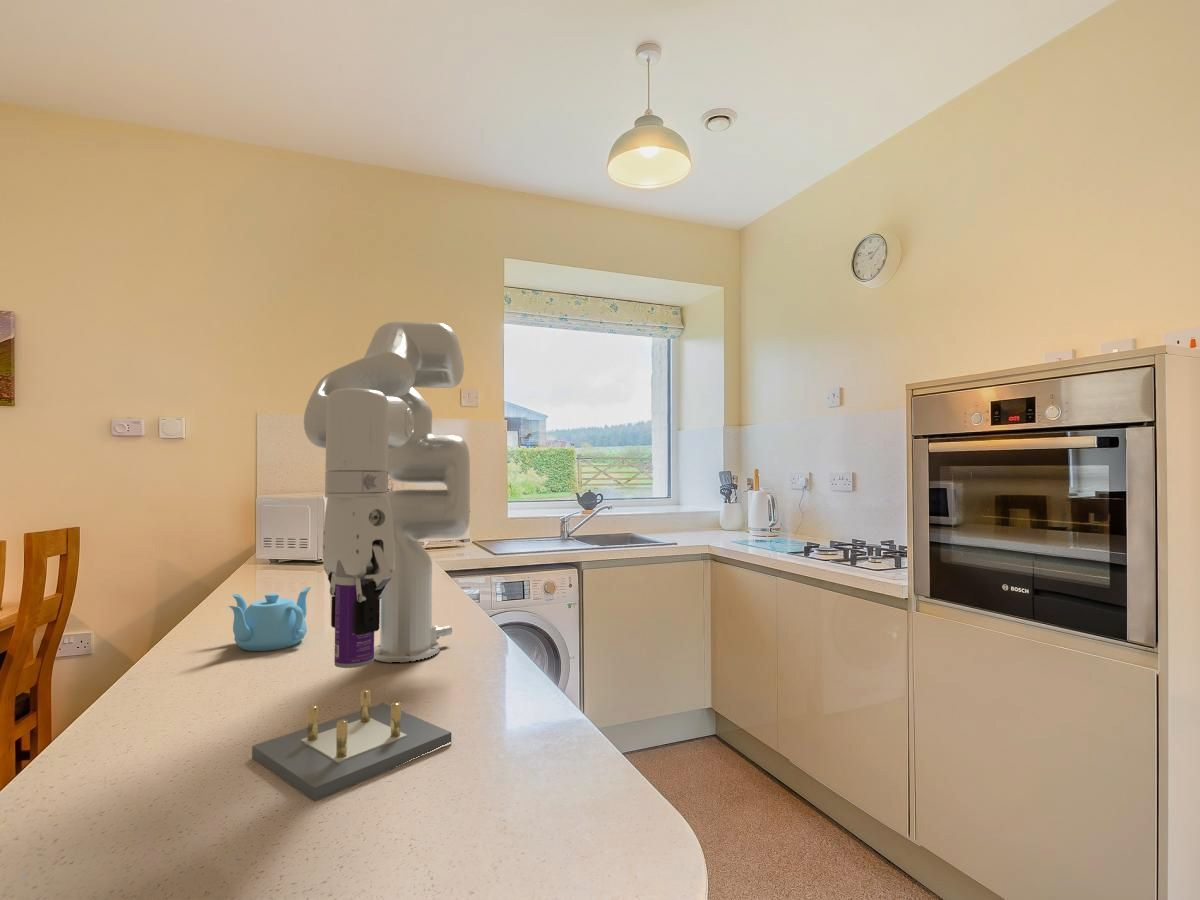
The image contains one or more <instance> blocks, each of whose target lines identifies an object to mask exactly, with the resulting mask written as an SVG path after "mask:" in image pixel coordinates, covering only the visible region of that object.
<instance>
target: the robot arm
mask: <svg viewBox="0 0 1200 900" xmlns="http://www.w3.org/2000/svg"><path fill="white" fill-rule="evenodd" d="M464 370H465V364H464V357H463V353H462V349H461V346H460V342H459V339H458V336H457V334H456V333H455V331H454V330H453V329H452V328H451V327H450V326H449V325H446V324H445V323H441V322H419V321H391V322H386V323H384V324H382V325H381V326H380V327H378V328H377V329H376V330H375V332H374V334H373V337H372V339H371V341H370V343H369V345H368V348H367V350H366V352H365V354H364V357H362V358H360V359H359V358H358V359H357V360H354V361H353V362H350V363H348V364H345V365H343V366H341V367H338V368H336V369H334V370H332V371H330V372H328V373H327V374H326V375H324V376H322V378H321V379H320V380H319V381H318V383H317V384H316V386H315V388H314V390H313V391H312V393H311V395H310V397H309V399H308V401H307V404H306V407H305V411H304V416H303V427H304V433H305V435H306V437H307V439H308V440H309V441H310V443H311V444H313V445H315V446H316V447H318V448H322V449H325V469H324V470H325V473H324V476H325V477H324V498H327V500H326V506H325V514H324V523H323V535H322V536H323V538H322V562H323V570H324V572H325V573H326V575H327V580H328V581H329V584H330V585H329V594H330V596H331V602H330V603H331V609H330V610H331V611H330V612H331V615H330V617H331V619H330V620H331V623H330V626H331V628H334V629H335V590H336V567H337V561H338V560H340V561H341V563H342V565H343V568H344V571H345V574H347V575H349V576H352V577H355V584H356V592H357V600H358V601H357V602H354V634H356V635H360V634H365V633H370V632H374V633H375V632H378V631H379V630H380V632H379V633H380V642H379V644H377V645H376V646H375V645H374V661H378V662H383V663H392V662H400V663H409V661H411V662H416V660H418V661H421V660H420V659H422V660H425V659H424V658H426V659H428V657H429V658H431V656H432V657H433V655H434V656H436V655H437V654H438V653H439V652H440V645H441V644H440V642H437V640H439V639H440V637H447V636H450V635H452V634H453V633H452V632H453V628H452V625H444V626H443V625H442V626H441V627H439V625H433V620H432V619H433V616H432V615H433V562H432V558H431V556H430V554H429V553H428V551H427V550H426V548H425V547H424V546H423V545H422V544H421V542H420V541H419V540H426V539H428V540H429V539H431V540H432V539H457V538H461V537H462V536H464V535H465V534H466V532H467V531H468V529H469V526H470V519H471V518H470V515H471V513H470V512H471V511H470V510H471V505H470V504H471V502H470V501H471V498H470V497H471V496H470V495H471V483H470V482H471V472H470V471H471V465H470V463H471V460H470V459H471V458H470V451H469V447H468V443H467V441H465V439H463V438H462V437H460V436H458V435H449V434H446V435H445V434H442V435H439V434H437V435H436V434H433V428H432V427H433V411H432V409H431V407H430V405H429V404H428V403H427V401H426V400H425V398H424V397H422V395H421V394H420V393H419V392H418V391H417V390H416V389H415V388H428V389H429V388H430V389H435V388H436V389H449V388H450V389H453V388H455V387H457V386H458V385H459V384H461V382H462V380H463V376H464ZM389 478H390V479H391V480H392V481H394V482H397V483H405V484H406V483H407V484H408V483H410V484H413V483H414V484H444V486H446V489H398V490H392V491H389ZM366 570H372V574H369V575H365V574H366V573H367V571H366ZM365 580H372V581H369V583H368V584H367V586H366V588H365V583H364V581H365ZM435 654H436V655H435Z"/></svg>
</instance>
